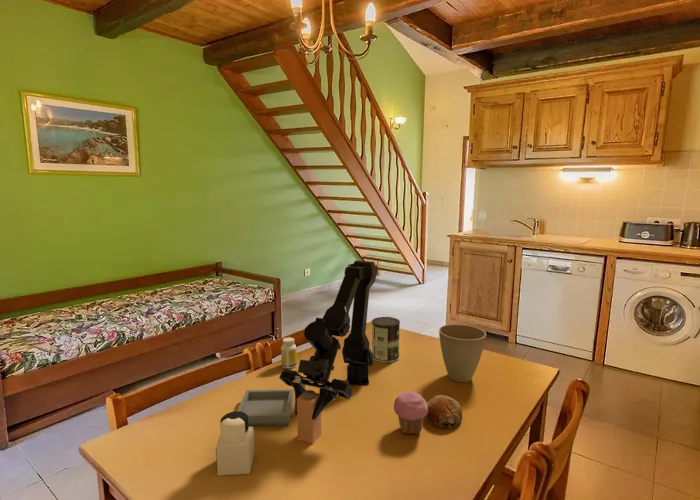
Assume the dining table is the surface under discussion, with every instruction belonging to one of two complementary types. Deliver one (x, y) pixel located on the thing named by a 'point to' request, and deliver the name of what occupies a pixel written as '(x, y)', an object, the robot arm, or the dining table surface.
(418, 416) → the cupcake
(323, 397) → the robot arm
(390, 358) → the coffee can
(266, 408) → the tray
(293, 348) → the supplement bottle
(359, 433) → the dining table surface
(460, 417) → the bread roll
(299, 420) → the block
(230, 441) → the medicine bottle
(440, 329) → the plant pot
